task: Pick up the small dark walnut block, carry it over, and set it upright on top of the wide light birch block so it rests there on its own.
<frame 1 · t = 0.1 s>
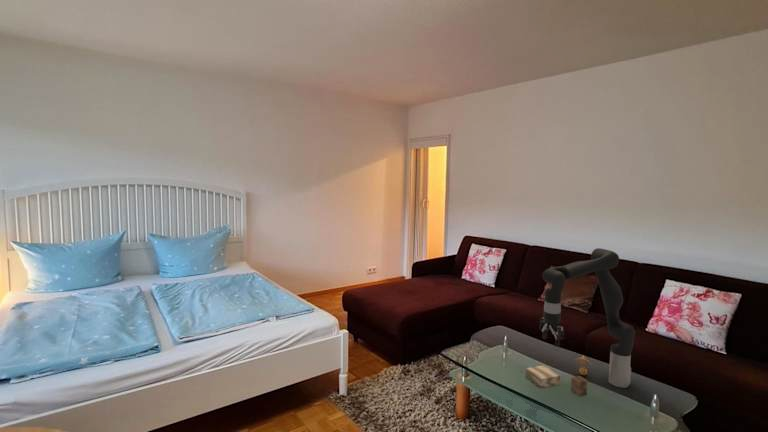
hand: (550, 342, 191), 29 cm above the table, fingers open, 8 cm apart
walnut block: (578, 391, 200), on the table
birch block: (542, 380, 212), on the table
figurine: (582, 376, 216), on the table
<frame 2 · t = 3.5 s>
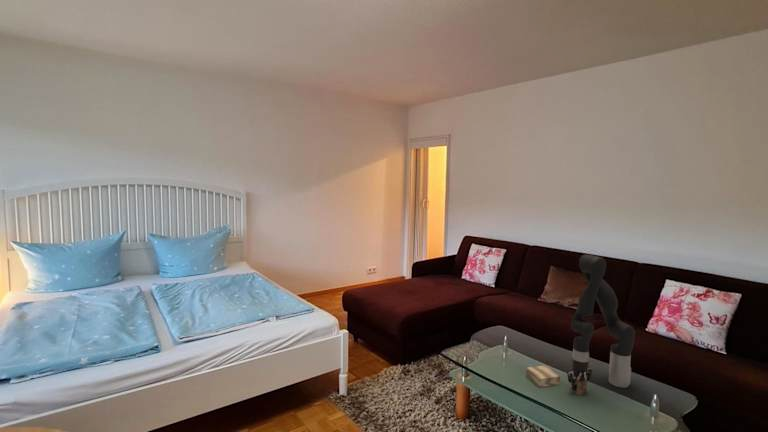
hand: (578, 389, 200), 1 cm above the table, fingers closed on walnut block, 5 cm apart
walnut block: (578, 391, 200), on the table, touching gripper
everything else where it was.
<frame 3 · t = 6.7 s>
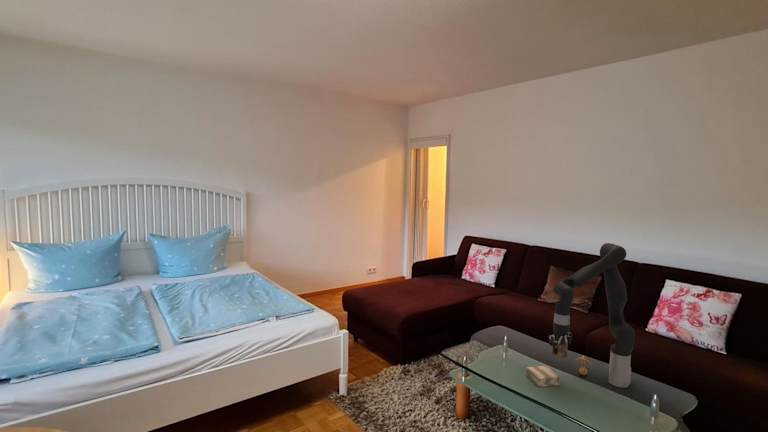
hand: (559, 353, 204), 18 cm above the table, fingers closed on walnut block, 5 cm apart
walnut block: (559, 355, 204), point 17 cm above the table, touching gripper
everything else where it was.
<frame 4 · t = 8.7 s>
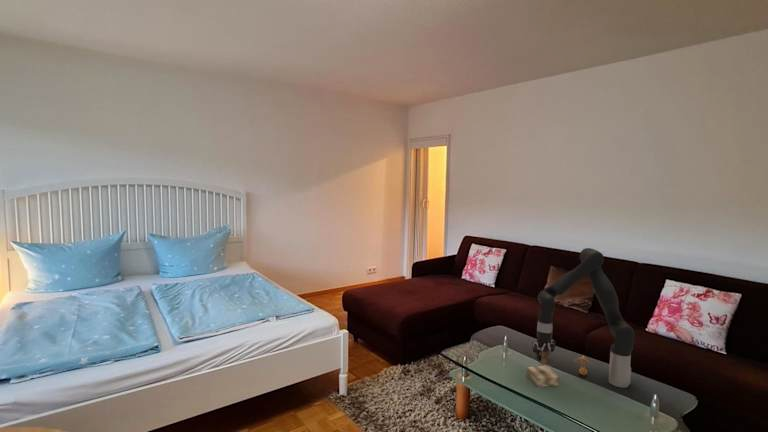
hand: (543, 359, 210), 11 cm above the table, fingers closed on walnut block, 5 cm apart
walnut block: (543, 362, 210), point 10 cm above the table, touching gripper
everything else where it was.
when the fingers open (7 cm above the table, at t = 10.2 s): walnut block drops 1 cm, resting on birch block.
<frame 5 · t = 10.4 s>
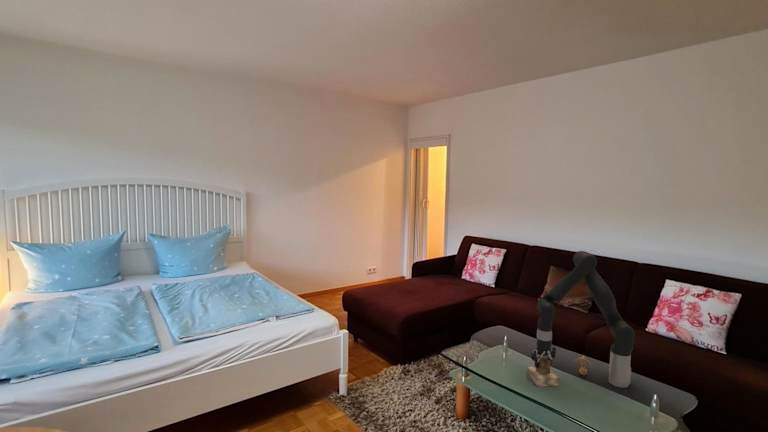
hand: (542, 366, 211), 8 cm above the table, fingers open, 7 cm apart
walnut block: (542, 372, 211), point 5 cm above the table, touching birch block
birch block: (542, 380, 212), on the table, touching walnut block
everything else where it was.
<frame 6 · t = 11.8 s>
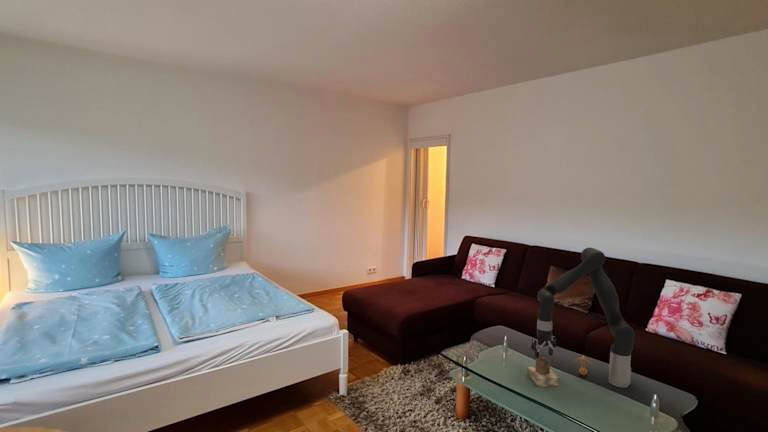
hand: (543, 356, 210), 13 cm above the table, fingers open, 8 cm apart
walnut block: (542, 372, 211), point 5 cm above the table
birch block: (542, 380, 212), on the table
everything else where it was.
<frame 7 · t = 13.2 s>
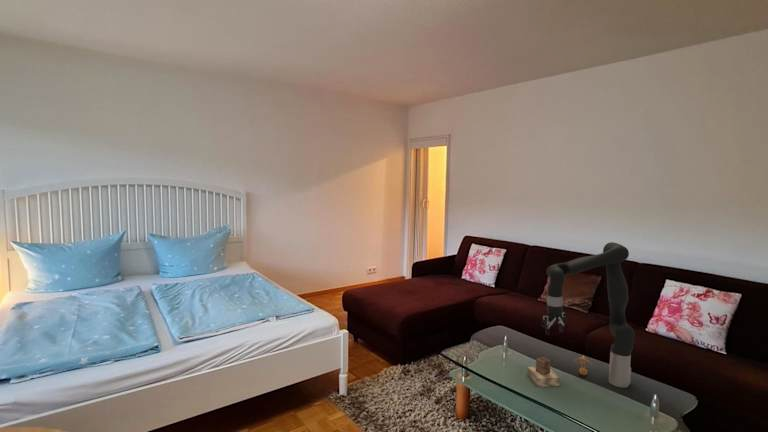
hand: (554, 333, 208), 27 cm above the table, fingers open, 8 cm apart
walnut block: (542, 372, 211), point 5 cm above the table, touching birch block
birch block: (542, 380, 211), on the table, touching walnut block
everything else where it was.
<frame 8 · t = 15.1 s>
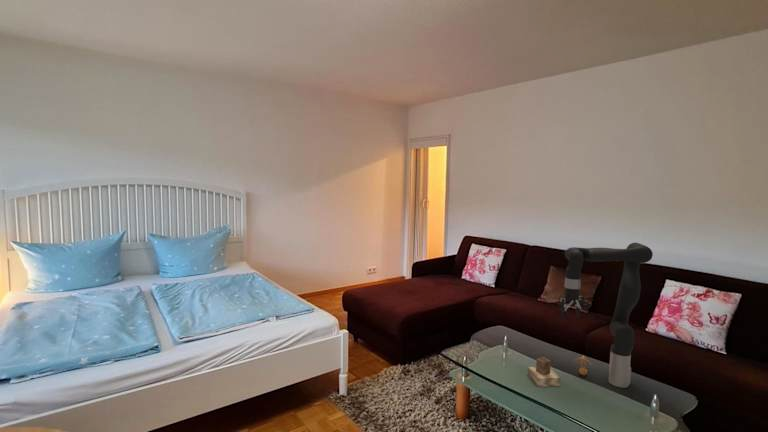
hand: (570, 316, 206), 36 cm above the table, fingers open, 8 cm apart
nothing on the table moved.
at the end: walnut block inside the target area on the birch block (0.3 cm from its centre), point 5.0 cm above the birch block's base; walnut block tilted 0°; the gripper is holding nothing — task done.
